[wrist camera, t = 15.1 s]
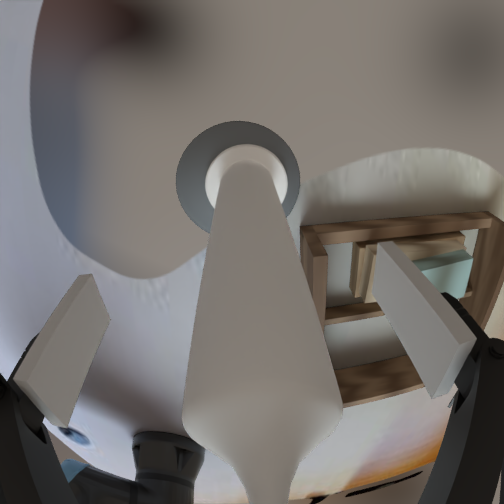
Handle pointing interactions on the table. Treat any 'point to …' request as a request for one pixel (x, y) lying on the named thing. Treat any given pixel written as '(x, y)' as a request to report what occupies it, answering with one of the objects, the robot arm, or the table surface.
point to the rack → (396, 369)
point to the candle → (257, 334)
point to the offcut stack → (416, 262)
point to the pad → (210, 147)
